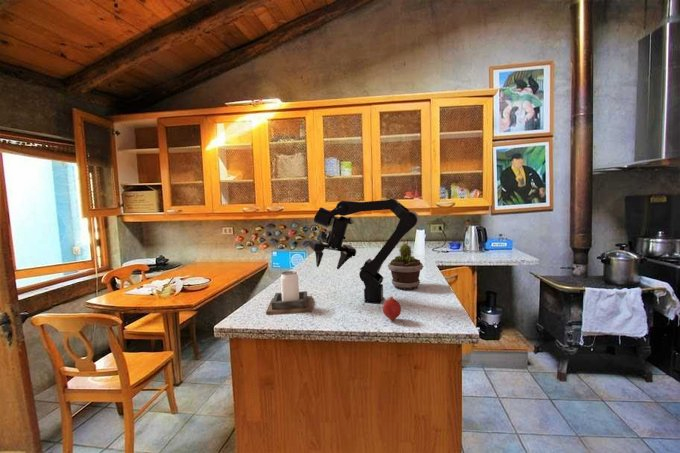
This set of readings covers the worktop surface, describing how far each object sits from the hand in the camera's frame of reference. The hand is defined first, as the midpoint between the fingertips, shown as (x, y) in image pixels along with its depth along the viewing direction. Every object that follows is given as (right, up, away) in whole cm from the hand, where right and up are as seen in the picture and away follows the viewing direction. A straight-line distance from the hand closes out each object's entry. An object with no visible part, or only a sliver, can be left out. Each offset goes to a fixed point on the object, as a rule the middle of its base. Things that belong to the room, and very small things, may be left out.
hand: (327, 267), depth 133 cm
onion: (+22, -14, -26) cm, 37 cm away
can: (-14, -13, -8) cm, 21 cm away
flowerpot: (+34, -10, +12) cm, 37 cm away
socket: (-14, -14, -7) cm, 21 cm away
